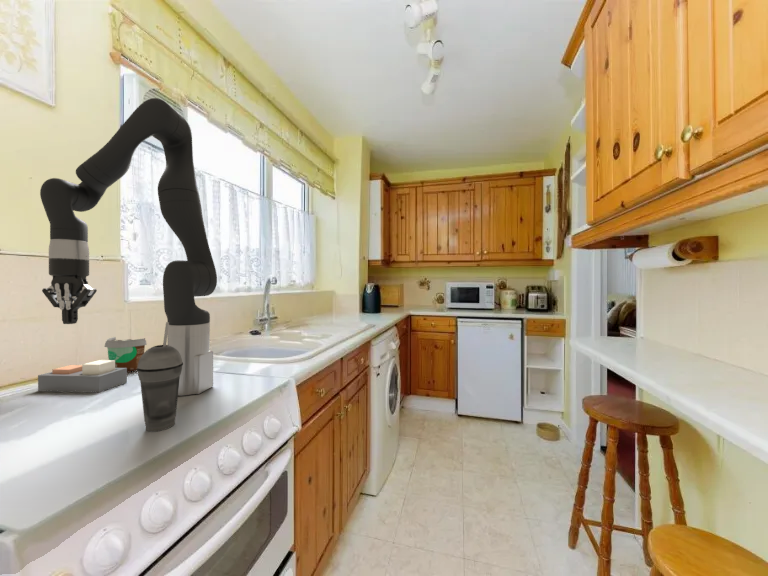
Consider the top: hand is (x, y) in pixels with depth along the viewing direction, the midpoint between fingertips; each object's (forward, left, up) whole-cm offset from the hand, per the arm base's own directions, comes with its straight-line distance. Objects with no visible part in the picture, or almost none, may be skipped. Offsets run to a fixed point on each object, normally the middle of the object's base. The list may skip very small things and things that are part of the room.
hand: (69, 323), depth 82 cm
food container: (0, -15, -17) cm, 22 cm away
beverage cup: (-41, +21, -17) cm, 49 cm away
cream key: (-8, 0, -14) cm, 16 cm away
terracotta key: (0, 0, -15) cm, 15 cm away
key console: (-4, 0, -17) cm, 17 cm away
